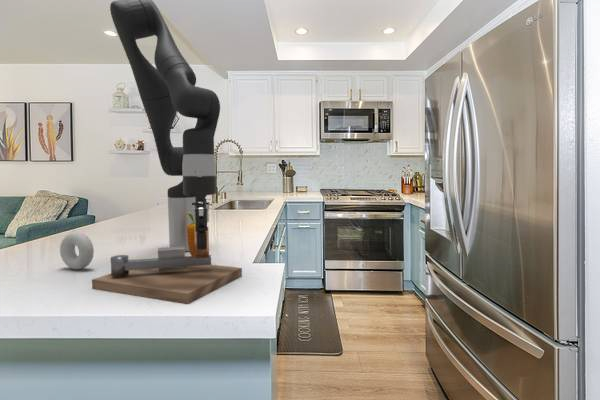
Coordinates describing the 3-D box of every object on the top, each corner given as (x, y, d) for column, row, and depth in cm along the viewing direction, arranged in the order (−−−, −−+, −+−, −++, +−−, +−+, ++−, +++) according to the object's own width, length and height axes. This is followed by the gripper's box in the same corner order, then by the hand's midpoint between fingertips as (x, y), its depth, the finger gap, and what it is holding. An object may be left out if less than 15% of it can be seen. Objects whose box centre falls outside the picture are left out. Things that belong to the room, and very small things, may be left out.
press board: (158, 266, 100) (157, 240, 99) (242, 276, 90) (241, 247, 89) (92, 288, 81) (90, 257, 81) (187, 303, 71) (186, 268, 71)
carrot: (189, 266, 99) (188, 211, 98) (186, 262, 103) (184, 209, 102) (208, 264, 101) (206, 210, 100) (204, 260, 106) (202, 208, 104)
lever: (113, 272, 85) (111, 230, 84) (211, 266, 90) (210, 225, 89) (109, 277, 81) (107, 232, 80) (211, 269, 86) (210, 228, 86)
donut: (97, 269, 97) (95, 231, 97) (86, 272, 94) (84, 233, 93) (69, 266, 101) (67, 229, 100) (57, 269, 97) (55, 232, 97)
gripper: (183, 174, 92) (185, 243, 93) (181, 174, 78) (184, 254, 79) (214, 174, 94) (216, 241, 95) (217, 174, 80) (220, 252, 81)
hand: (201, 247), depth 87 cm, fingers closed on lever, 3 cm apart
